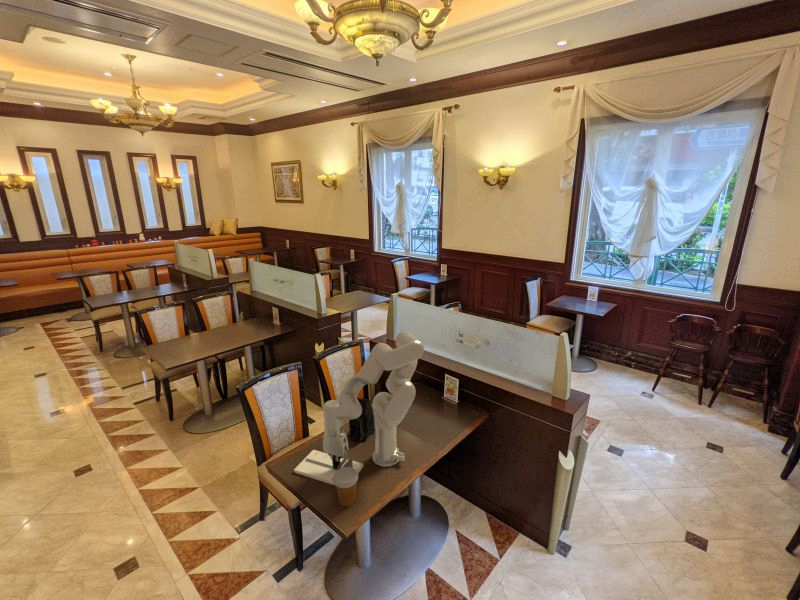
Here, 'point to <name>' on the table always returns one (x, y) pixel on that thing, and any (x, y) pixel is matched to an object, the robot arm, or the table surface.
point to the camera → (362, 422)
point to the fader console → (321, 467)
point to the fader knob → (345, 463)
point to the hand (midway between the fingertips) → (336, 466)
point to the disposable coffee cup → (346, 485)
